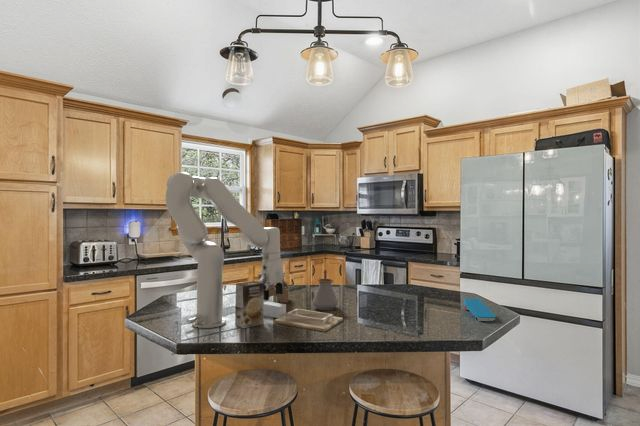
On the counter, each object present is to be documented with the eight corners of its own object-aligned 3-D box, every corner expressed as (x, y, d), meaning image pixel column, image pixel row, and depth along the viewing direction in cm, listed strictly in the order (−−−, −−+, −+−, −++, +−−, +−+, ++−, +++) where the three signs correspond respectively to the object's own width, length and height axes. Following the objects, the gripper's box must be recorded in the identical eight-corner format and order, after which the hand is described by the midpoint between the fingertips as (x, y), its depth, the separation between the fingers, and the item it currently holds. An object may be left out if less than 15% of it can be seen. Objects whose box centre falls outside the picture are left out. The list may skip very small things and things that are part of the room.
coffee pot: (338, 312, 164) (338, 277, 164) (311, 311, 164) (312, 277, 164) (336, 300, 186) (337, 269, 185) (313, 299, 186) (313, 269, 186)
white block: (279, 319, 154) (279, 306, 154) (255, 314, 161) (255, 301, 161) (285, 316, 158) (286, 304, 158) (262, 311, 165) (262, 299, 165)
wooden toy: (289, 299, 186) (290, 248, 186) (287, 302, 179) (288, 250, 179) (258, 298, 187) (259, 248, 186) (255, 302, 180) (256, 249, 180)
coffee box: (243, 329, 140) (243, 286, 140) (234, 325, 145) (234, 283, 145) (264, 324, 146) (264, 282, 146) (254, 320, 151) (255, 280, 151)
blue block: (493, 331, 154) (473, 308, 171) (496, 316, 152) (475, 294, 169) (477, 332, 154) (458, 308, 171) (479, 317, 152) (460, 294, 169)
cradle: (324, 331, 138) (324, 323, 138) (274, 322, 148) (274, 314, 148) (342, 320, 152) (342, 313, 152) (296, 312, 162) (296, 305, 162)
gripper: (266, 260, 150) (267, 302, 150) (290, 254, 165) (291, 292, 165) (251, 258, 153) (252, 300, 154) (276, 253, 168) (277, 291, 169)
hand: (272, 296), depth 160 cm, fingers open, 9 cm apart
